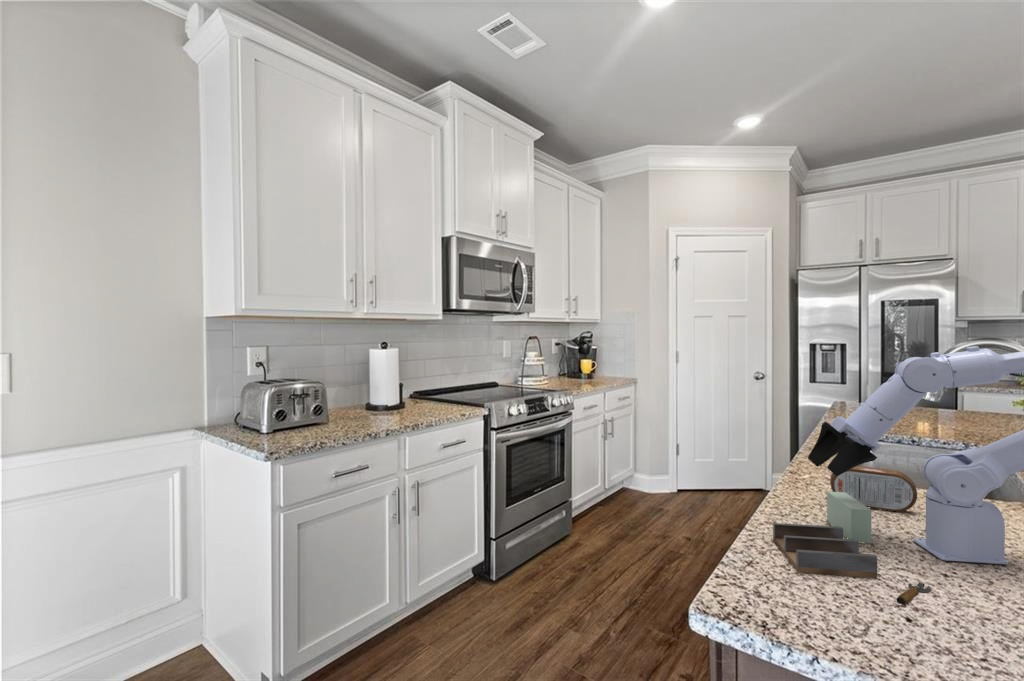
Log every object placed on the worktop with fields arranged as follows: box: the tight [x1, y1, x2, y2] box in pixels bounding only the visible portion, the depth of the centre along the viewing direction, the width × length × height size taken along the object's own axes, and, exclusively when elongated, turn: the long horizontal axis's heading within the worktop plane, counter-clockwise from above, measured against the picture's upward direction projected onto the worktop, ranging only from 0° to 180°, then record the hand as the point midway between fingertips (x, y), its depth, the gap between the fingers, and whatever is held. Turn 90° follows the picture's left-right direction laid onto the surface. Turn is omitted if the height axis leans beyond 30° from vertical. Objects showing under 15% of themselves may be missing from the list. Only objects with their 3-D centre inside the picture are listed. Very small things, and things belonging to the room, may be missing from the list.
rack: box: [772, 522, 878, 579], centre depth 83 cm, size 11×12×3 cm
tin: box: [829, 465, 918, 513], centre depth 107 cm, size 15×3×8 cm, turn 58°
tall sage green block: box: [826, 491, 872, 544], centre depth 94 cm, size 3×10×6 cm, turn 169°
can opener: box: [896, 581, 933, 606], centre depth 72 cm, size 9×2×1 cm, turn 119°
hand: (822, 467), depth 93 cm, fingers open, 7 cm apart
